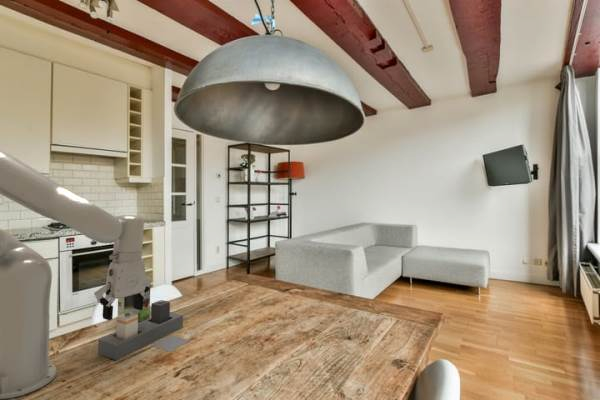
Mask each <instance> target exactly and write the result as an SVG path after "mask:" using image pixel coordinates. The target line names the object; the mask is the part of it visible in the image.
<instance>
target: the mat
mask: <svg viewBox="0 0 600 400" xmlns="http://www.w3.org/2000/svg"><path fill="white" fill-rule="evenodd" d="M190 341H191V339H188V338H184V337H182V336H177V335H174V334H171V335H169V336H167V337H166V338H165V337H164V338H163V339H161V340H159V341H158V342H156V343H153V344H151V347H153V348H157V349H161V350H164V351H165V352H169V353H170V352H173V351H175V350H177V349H179V347H181V346H183V345H185V344H187V343H188V342H190Z"/></svg>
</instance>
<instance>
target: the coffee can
mask: <svg viewBox="0 0 600 400" xmlns="http://www.w3.org/2000/svg"><path fill="white" fill-rule="evenodd" d="M151 285H152V284H151ZM151 285H150V287H149V290H148V291H147V292H146V296H145V297H144V299H143V310H137V309H134V299H135V296H136V295H137V294H135V295H131V296H127V297H124V298H119V299H117V316H119V315H122V314H125V313H127V312H131V313H135V314H138V323H139V322H141V321H144V320H146V319H148V318H151V315H150V314H151V311H150V310H151Z"/></svg>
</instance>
